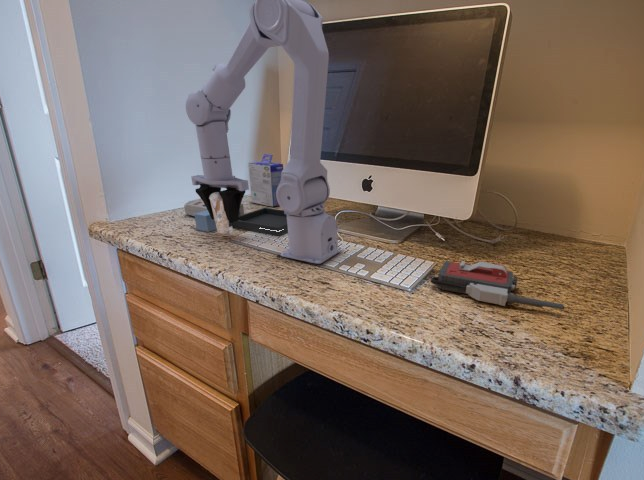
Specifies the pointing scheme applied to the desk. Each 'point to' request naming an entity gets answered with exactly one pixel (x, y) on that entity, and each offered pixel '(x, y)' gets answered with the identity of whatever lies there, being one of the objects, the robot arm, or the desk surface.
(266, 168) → the ink cartridge box
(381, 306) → the desk surface
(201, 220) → the blue block
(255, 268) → the desk surface
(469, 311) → the desk surface
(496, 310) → the desk surface
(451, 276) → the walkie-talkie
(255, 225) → the tray
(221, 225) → the milkshake
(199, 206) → the handheld gaming device
